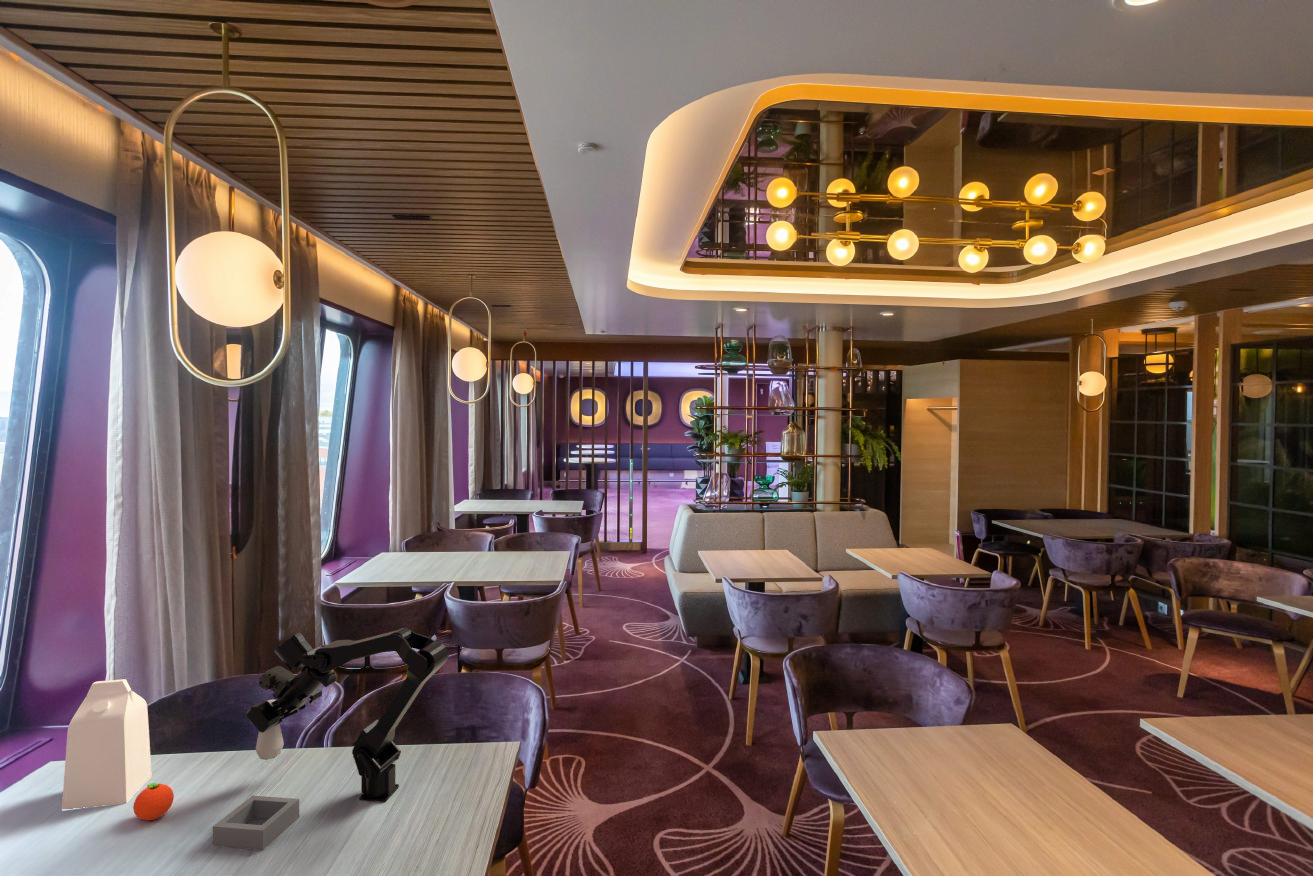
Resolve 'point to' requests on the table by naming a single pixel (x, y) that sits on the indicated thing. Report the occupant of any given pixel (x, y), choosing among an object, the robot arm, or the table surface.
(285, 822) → the well block
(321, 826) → the table surface
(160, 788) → the clementine
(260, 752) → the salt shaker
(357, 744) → the robot arm
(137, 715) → the milk
